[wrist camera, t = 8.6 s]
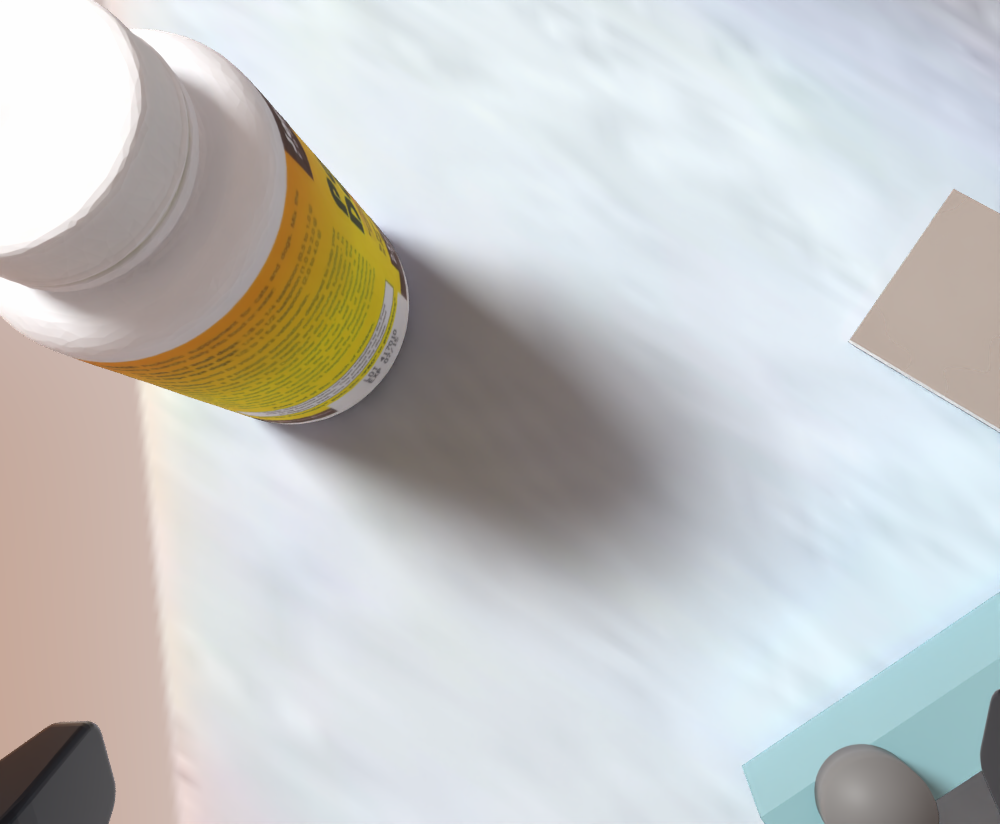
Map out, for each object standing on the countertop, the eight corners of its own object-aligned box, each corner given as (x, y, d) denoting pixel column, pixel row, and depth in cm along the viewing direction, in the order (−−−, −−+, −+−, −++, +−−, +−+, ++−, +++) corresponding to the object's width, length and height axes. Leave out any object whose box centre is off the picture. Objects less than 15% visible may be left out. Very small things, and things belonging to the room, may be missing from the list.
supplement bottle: (460, 276, 21) (280, 32, 11) (333, 472, 21) (38, 400, 11) (282, 170, 22) (-19, -132, 13) (161, 354, 22) (-242, 194, 12)
